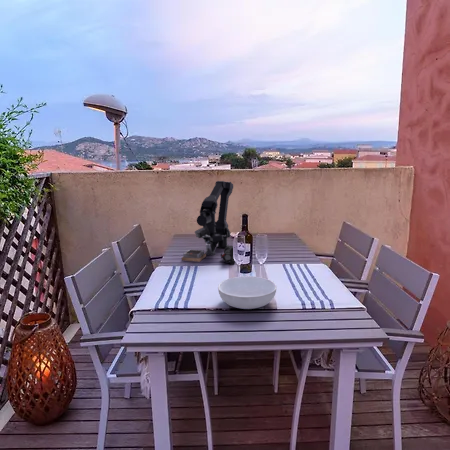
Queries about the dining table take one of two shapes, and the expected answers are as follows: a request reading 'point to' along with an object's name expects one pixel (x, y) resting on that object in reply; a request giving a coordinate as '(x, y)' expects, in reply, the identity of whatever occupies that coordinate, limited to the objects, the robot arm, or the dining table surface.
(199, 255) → the mount
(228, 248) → the night vision scope
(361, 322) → the dining table surface
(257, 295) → the serving bowl
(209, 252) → the lens
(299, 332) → the dining table surface
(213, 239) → the robot arm
